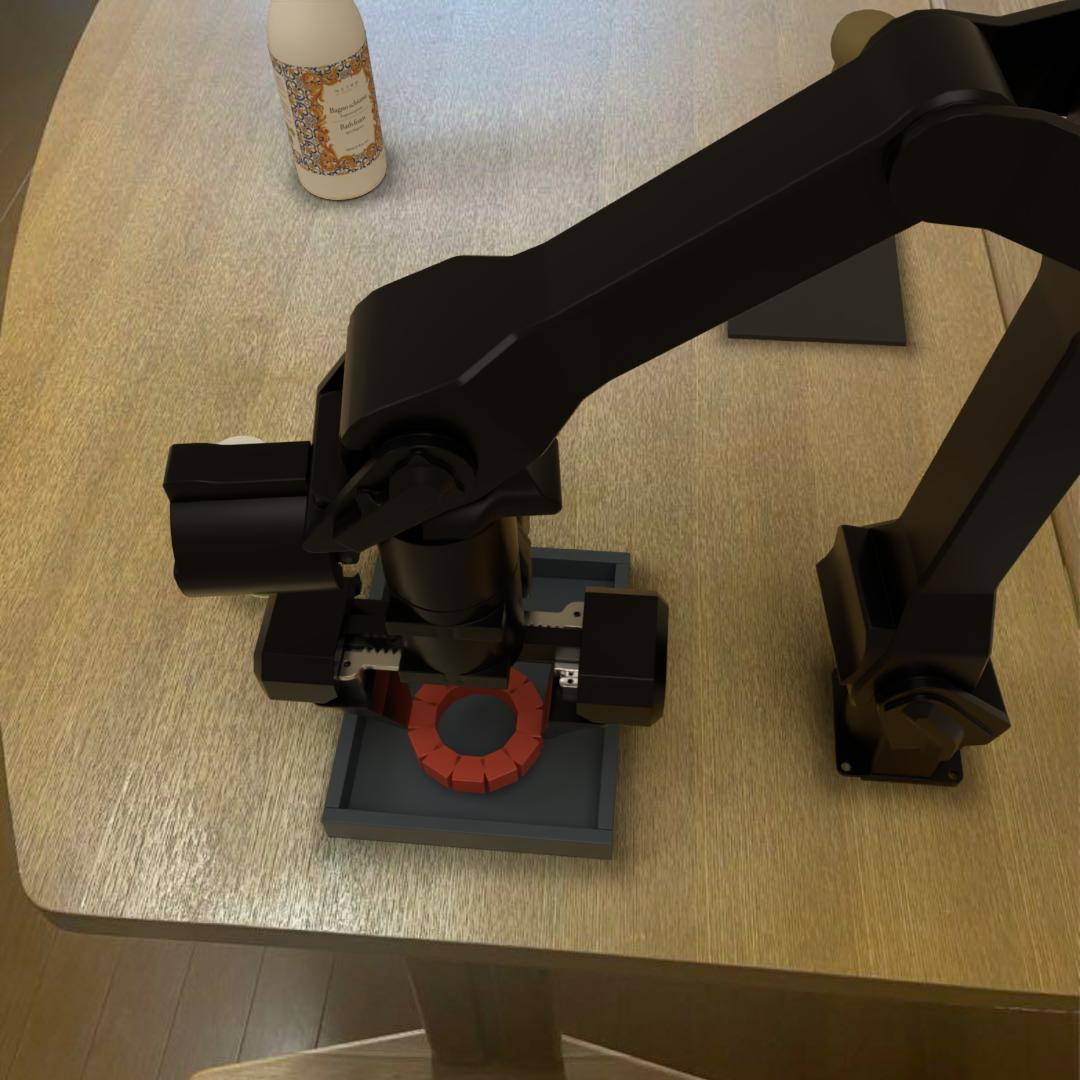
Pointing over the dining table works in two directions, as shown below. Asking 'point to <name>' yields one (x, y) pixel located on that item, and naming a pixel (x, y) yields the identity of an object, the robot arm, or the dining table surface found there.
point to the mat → (835, 305)
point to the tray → (480, 729)
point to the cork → (855, 34)
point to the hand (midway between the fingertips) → (478, 725)
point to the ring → (473, 769)
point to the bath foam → (327, 95)
